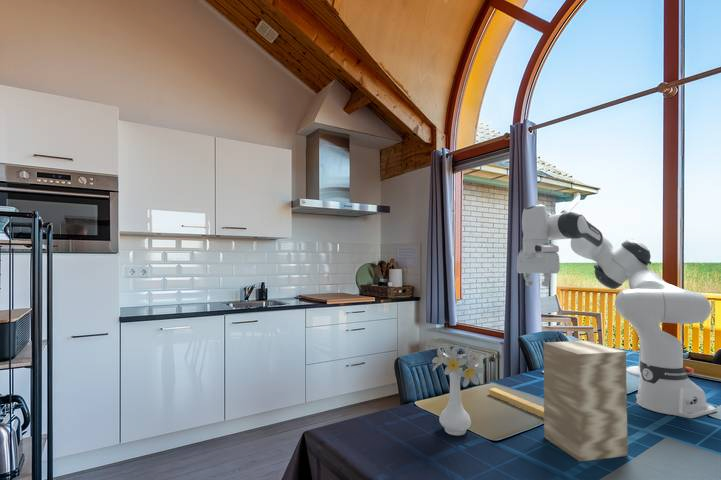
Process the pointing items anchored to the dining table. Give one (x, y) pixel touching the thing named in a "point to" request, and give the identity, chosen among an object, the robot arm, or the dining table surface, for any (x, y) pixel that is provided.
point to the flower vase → (457, 387)
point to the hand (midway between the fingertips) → (537, 286)
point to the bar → (517, 401)
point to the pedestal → (585, 399)
